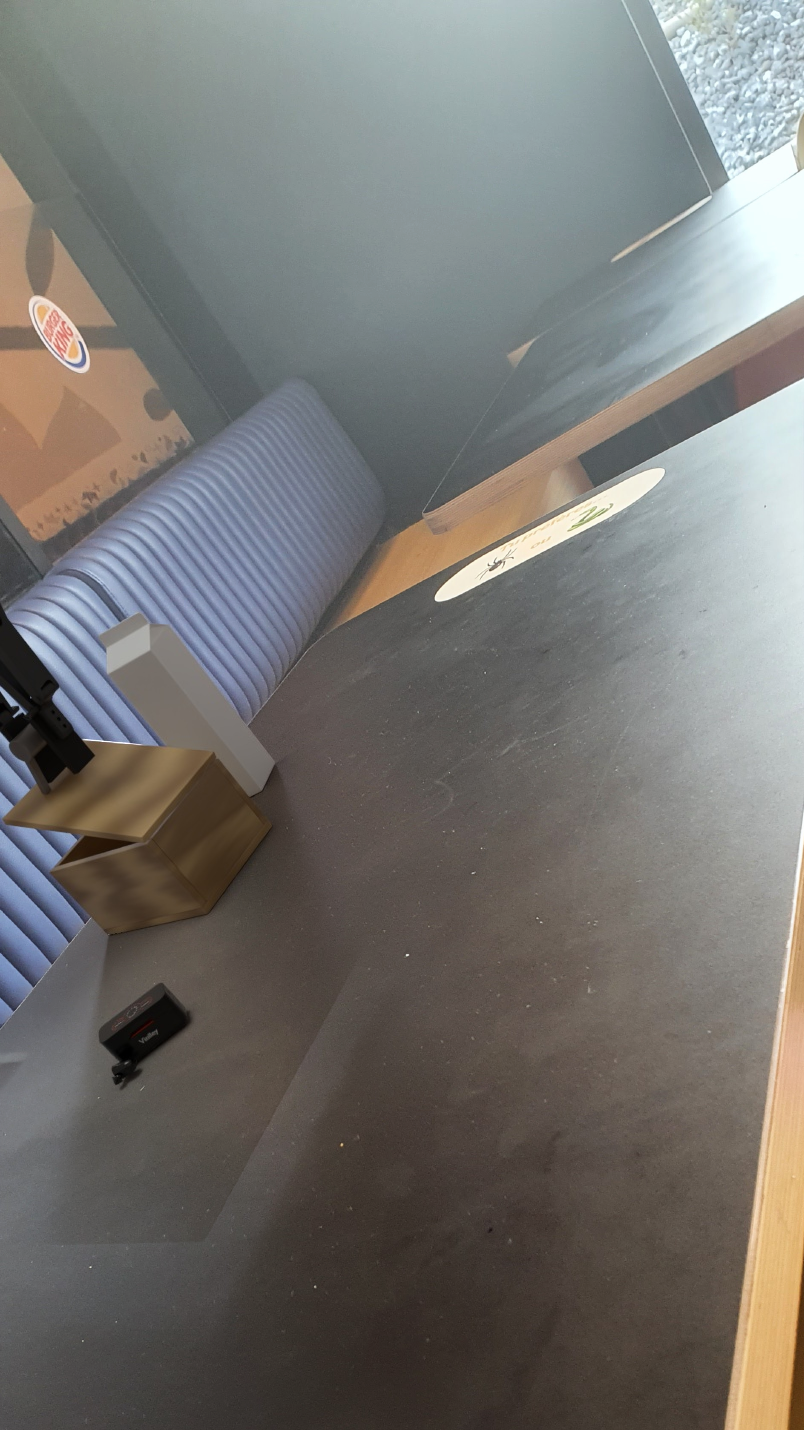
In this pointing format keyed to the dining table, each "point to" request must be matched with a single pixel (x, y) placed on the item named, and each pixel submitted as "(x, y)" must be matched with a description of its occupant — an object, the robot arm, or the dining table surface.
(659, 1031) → the dining table surface
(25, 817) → the lid
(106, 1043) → the black clip-on device
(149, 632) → the milk
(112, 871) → the chest
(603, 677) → the dining table surface
